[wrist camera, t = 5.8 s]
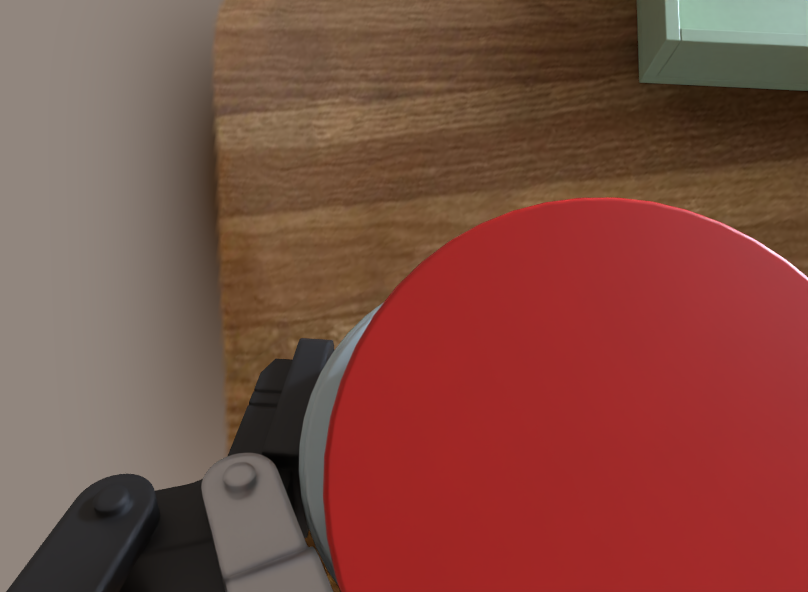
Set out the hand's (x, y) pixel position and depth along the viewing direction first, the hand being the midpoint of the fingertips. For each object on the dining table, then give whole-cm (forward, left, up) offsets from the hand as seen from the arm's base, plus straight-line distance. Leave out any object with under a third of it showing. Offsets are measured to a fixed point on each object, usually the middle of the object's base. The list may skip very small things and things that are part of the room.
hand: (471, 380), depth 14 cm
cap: (0, -2, +7) cm, 7 cm away
